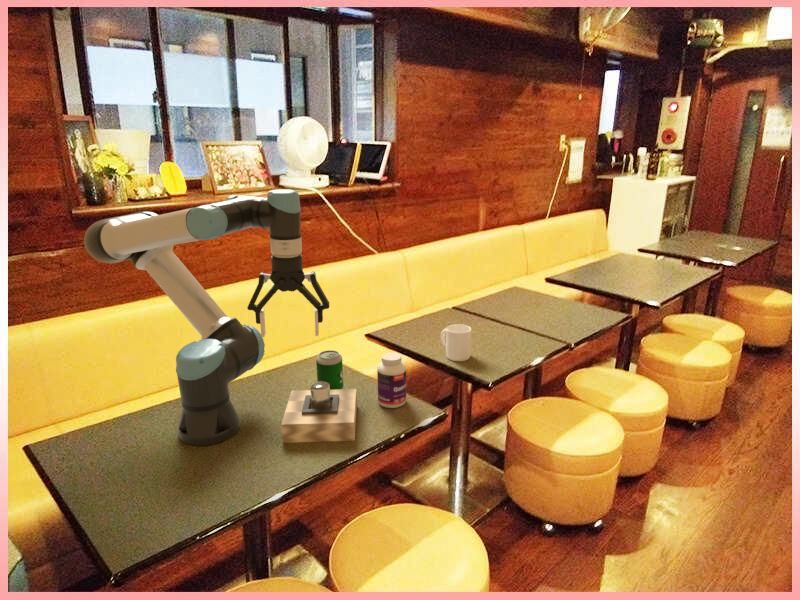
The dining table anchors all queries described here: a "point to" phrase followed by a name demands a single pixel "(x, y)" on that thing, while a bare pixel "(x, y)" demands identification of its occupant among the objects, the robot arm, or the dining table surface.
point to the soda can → (330, 369)
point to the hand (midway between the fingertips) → (290, 334)
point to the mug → (457, 342)
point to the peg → (320, 395)
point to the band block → (320, 418)
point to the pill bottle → (391, 381)
